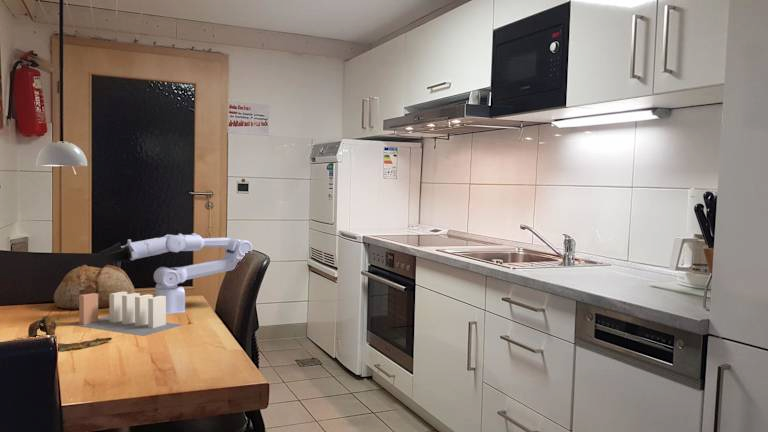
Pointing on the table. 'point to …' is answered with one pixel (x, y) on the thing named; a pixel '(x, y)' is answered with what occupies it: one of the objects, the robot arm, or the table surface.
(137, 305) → the domino
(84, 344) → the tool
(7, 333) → the table surface
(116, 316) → the domino
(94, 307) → the domino
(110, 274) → the bread
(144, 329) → the mat
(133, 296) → the domino
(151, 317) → the domino
